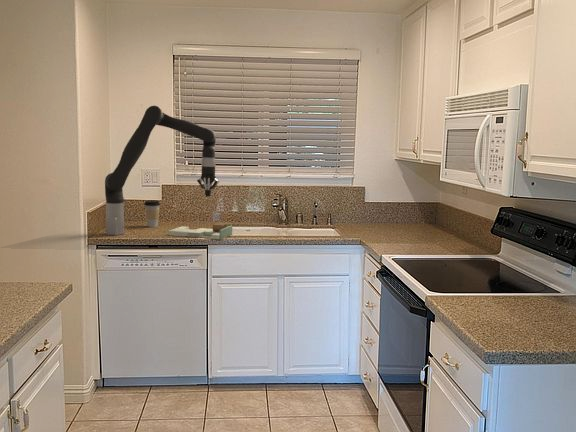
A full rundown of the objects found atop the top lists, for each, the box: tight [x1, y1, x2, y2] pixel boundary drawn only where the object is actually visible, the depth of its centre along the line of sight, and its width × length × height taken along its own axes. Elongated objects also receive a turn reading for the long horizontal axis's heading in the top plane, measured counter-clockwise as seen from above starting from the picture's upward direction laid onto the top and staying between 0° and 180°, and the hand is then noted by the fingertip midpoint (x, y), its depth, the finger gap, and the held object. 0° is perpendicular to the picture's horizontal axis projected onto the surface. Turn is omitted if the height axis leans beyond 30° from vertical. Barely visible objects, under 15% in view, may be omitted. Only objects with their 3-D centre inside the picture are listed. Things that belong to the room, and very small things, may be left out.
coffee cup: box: [143, 200, 161, 228], centre depth 350 cm, size 9×9×15 cm
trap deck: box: [168, 225, 233, 240], centre depth 327 cm, size 16×31×5 cm, turn 74°
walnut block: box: [212, 222, 228, 232], centre depth 327 cm, size 6×6×4 cm
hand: (207, 196), depth 331 cm, fingers closed
